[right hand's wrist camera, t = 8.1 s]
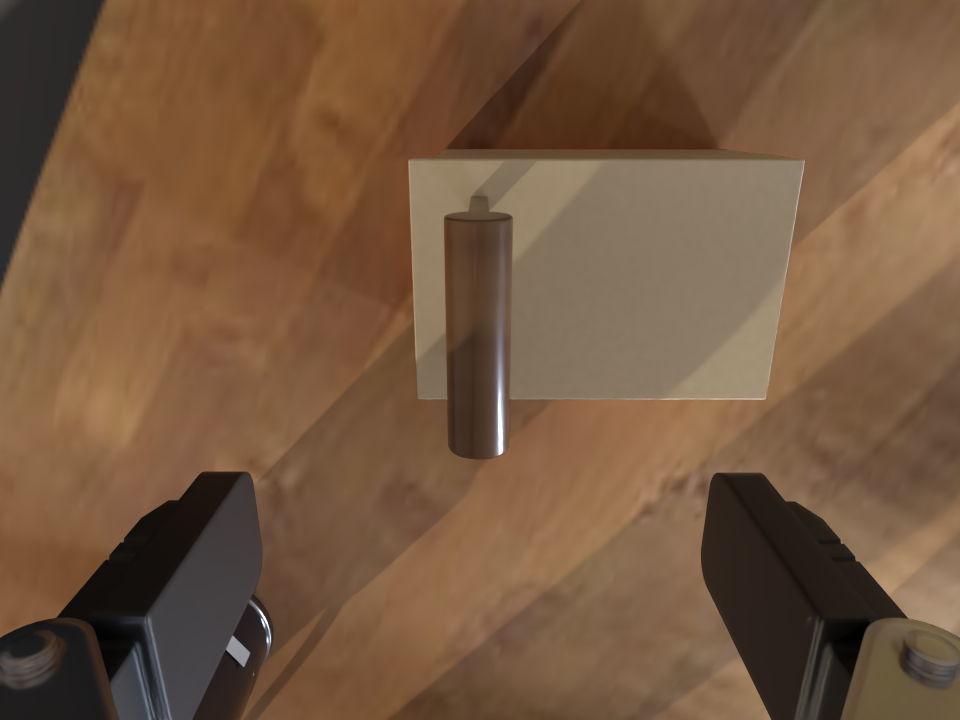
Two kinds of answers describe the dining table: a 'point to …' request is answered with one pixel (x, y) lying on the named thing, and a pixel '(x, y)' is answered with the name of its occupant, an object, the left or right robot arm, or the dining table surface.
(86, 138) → the dining table surface
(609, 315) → the lid
